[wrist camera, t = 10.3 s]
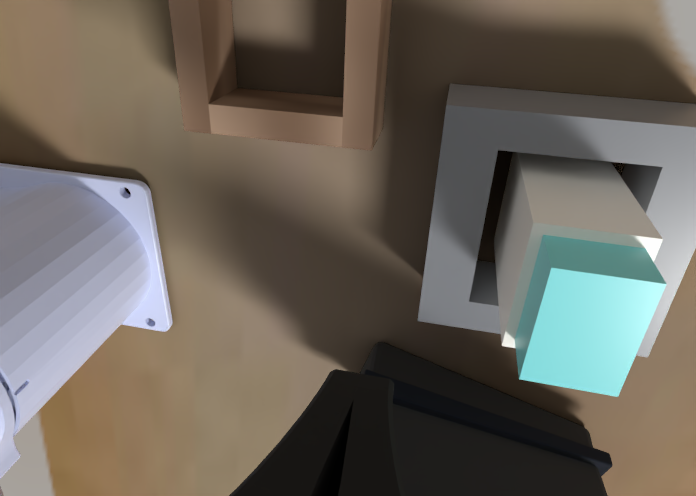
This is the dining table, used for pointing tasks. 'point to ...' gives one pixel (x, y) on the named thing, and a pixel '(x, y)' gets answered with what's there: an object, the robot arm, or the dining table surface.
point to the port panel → (555, 140)
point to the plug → (574, 272)
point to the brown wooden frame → (280, 107)
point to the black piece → (480, 436)
